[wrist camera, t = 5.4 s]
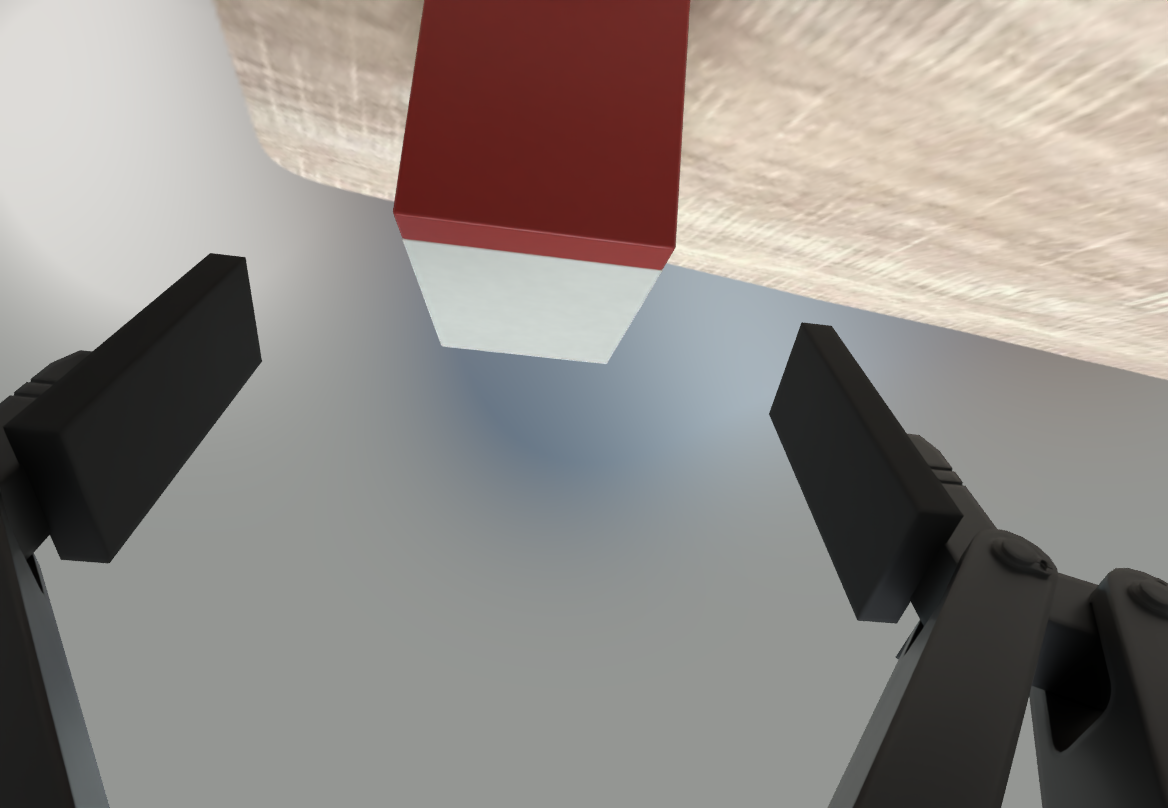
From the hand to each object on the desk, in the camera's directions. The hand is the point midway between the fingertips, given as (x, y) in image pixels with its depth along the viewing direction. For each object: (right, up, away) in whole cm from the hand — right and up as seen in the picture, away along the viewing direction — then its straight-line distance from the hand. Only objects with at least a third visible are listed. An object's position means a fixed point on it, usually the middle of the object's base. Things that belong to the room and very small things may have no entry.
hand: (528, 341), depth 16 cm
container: (0, +9, +8) cm, 12 cm away
